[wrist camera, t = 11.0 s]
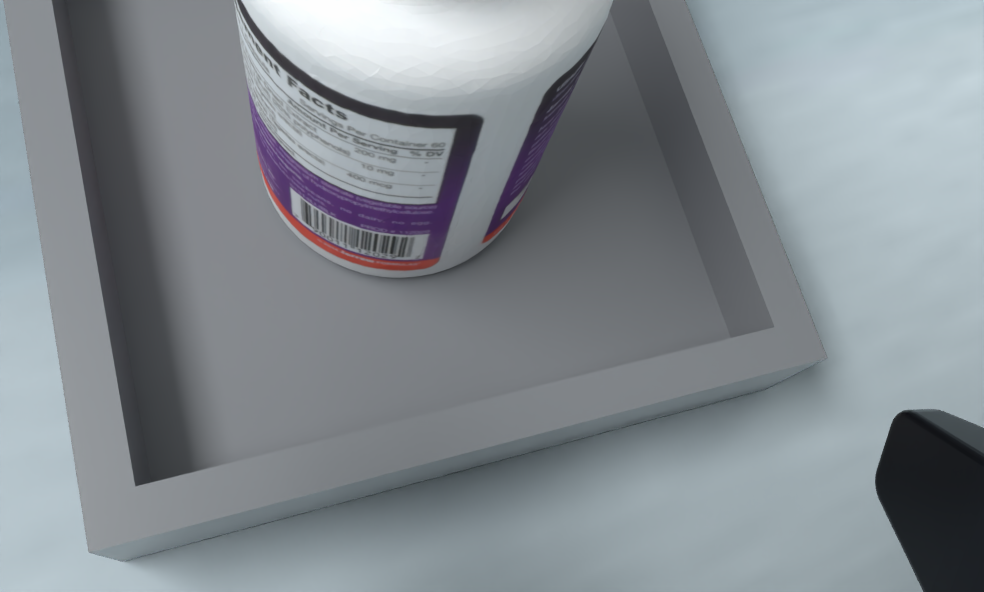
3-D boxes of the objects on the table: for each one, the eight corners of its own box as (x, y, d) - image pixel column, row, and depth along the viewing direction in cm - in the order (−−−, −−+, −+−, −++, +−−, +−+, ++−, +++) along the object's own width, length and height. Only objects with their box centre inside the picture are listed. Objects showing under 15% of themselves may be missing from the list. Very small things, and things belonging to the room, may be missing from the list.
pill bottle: (442, 13, 20) (543, -486, 11) (570, 215, 19) (800, -152, 10) (210, 104, 18) (100, -397, 9) (336, 331, 17) (352, 18, 8)
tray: (122, 561, 16) (89, 552, 14) (23, -46, 20) (-18, -135, 17) (766, 388, 19) (827, 357, 17) (581, -105, 23) (610, -187, 20)
